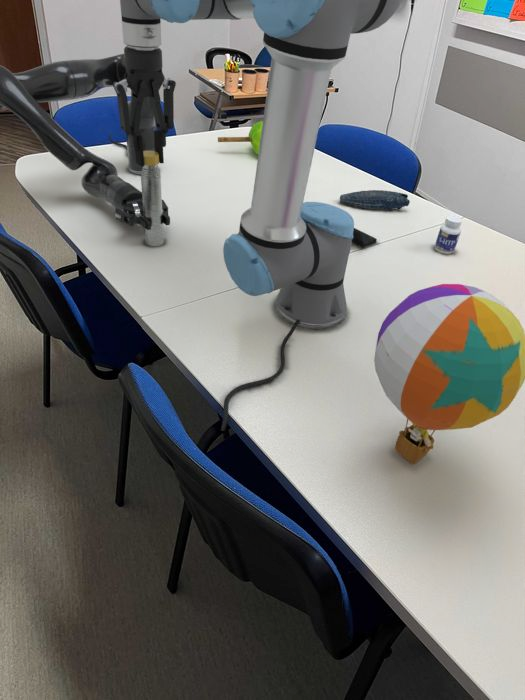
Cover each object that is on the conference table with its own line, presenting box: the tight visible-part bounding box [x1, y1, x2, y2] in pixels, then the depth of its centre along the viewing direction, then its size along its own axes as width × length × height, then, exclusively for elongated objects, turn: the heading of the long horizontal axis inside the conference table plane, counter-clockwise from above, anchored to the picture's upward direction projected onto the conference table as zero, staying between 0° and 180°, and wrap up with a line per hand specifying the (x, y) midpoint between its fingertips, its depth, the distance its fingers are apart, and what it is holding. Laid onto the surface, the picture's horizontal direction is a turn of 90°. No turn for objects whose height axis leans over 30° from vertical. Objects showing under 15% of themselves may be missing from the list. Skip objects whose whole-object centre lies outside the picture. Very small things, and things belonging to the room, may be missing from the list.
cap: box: [143, 151, 160, 166], centre depth 119 cm, size 4×4×2 cm
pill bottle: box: [434, 215, 463, 255], centre depth 137 cm, size 5×5×9 cm
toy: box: [373, 283, 525, 466], centre depth 73 cm, size 20×20×30 cm
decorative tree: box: [217, 120, 263, 156], centre depth 187 cm, size 18×10×30 cm
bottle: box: [140, 165, 165, 247], centre depth 125 cm, size 4×4×22 cm
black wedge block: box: [351, 227, 378, 249], centre depth 139 cm, size 12×7×10 cm
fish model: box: [339, 189, 411, 211], centre depth 158 cm, size 7×21×5 cm, turn 84°
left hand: (158, 223), depth 126 cm, fingers closed on bottle, 4 cm apart
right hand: (149, 162), depth 119 cm, fingers closed on cap, 4 cm apart
